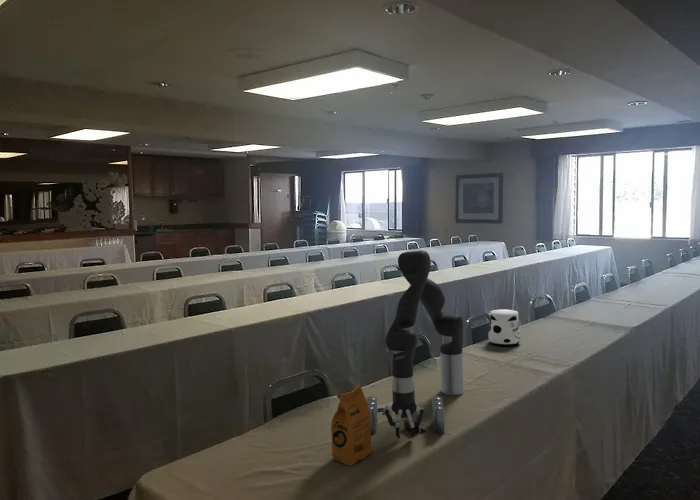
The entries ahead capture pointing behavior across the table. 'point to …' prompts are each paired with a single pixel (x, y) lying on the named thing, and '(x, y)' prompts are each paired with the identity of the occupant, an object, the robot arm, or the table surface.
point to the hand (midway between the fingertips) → (405, 436)
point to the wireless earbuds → (407, 427)
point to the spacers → (437, 414)
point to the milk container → (504, 327)
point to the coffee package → (351, 428)
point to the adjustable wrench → (382, 407)
